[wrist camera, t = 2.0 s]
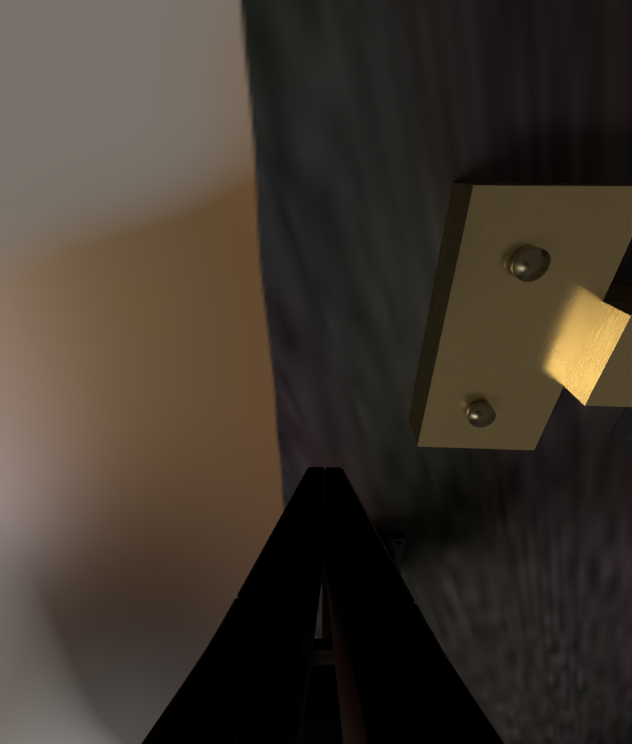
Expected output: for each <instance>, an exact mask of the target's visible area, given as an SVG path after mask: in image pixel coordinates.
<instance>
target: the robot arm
mask: <svg viewBox="0 0 632 744" xmlns="http://www.w3.org/2000/svg"><path fill="white" fill-rule="evenodd" d="M404 547H405V538H404V535H402V534H396V533H378V532H377V531H376V529H375V527H374V525H373V523H372V521H371V520H370V518H369V516H368V514H367V512H366V510H365V509H364V507H363V505H362V503H361V501H360V499H359V498H358V496H357V494H356V492H355V490H354V489H353V487H352V485H351V483H350V481H349V479H348V478H347V476H346V474H345V472H344V470H343V469H342V468H339V467H327V468H326V469H324V468H323V467H309V468H308V469H307V470H306V472H305V474H304V476H303V477H302V479H301V481H300V483H299V485H298V486H297V488H296V490H295V492H294V494H293V495H292V497H291V499H290V501H289V503H288V504H287V506H286V508H285V510H284V512H283V513H282V515H281V517H280V519H279V521H278V522H277V524H276V526H275V528H274V530H273V531H272V533H271V535H270V537H269V539H268V541H267V542H266V544H265V546H264V548H263V550H262V551H261V553H260V555H259V557H258V558H257V560H256V562H255V564H254V566H253V567H252V569H251V571H250V573H249V575H248V576H247V578H246V580H245V582H244V584H243V585H242V587H241V589H240V591H239V593H238V595H237V596H238V598H236V599H234V601H233V603H232V605H231V607H230V608H229V610H228V612H227V614H226V616H225V617H224V619H223V621H222V623H221V624H220V626H219V628H218V629H217V631H216V633H215V634H214V636H213V638H212V640H211V641H210V643H209V645H208V646H207V648H206V649H205V651H204V652H203V654H202V655H201V657H200V659H199V660H198V662H197V663H196V665H195V666H194V668H193V669H192V671H191V672H190V674H189V675H188V677H187V678H186V680H185V681H184V683H183V684H182V686H181V687H180V689H179V690H178V692H177V693H176V694H175V696H174V697H173V699H172V700H171V702H170V703H169V705H168V706H167V707H166V709H165V710H164V712H163V713H162V715H161V716H160V718H159V719H158V720H157V722H156V723H155V725H154V726H153V728H152V729H151V731H150V732H149V734H148V735H147V737H146V738H145V739H144V741H143V742H142V744H504V742H503V741H502V739H501V738H500V736H499V735H498V734H497V732H496V731H495V729H494V728H493V726H492V725H491V723H490V722H489V720H488V719H487V717H486V716H485V714H484V713H483V711H482V710H481V708H480V707H479V705H478V704H477V702H476V701H475V699H474V698H473V696H472V695H471V693H470V692H469V690H468V689H467V687H466V686H465V684H464V683H463V681H462V680H461V678H460V676H459V675H458V673H457V672H456V670H455V669H454V667H453V666H452V664H451V662H450V661H449V659H448V658H447V656H446V655H445V653H444V651H443V649H442V648H441V646H440V644H439V643H438V641H437V639H436V637H435V636H434V633H433V632H432V630H431V629H430V627H429V625H428V624H427V622H426V620H425V618H424V616H423V614H422V613H421V611H420V609H419V607H418V605H417V604H416V603H414V598H413V596H412V595H411V593H410V591H409V589H408V587H407V585H406V584H405V582H404V580H403V578H402V576H401V575H400V573H399V568H400V563H401V559H402V555H403V551H404ZM321 583H322V639H314V636H315V628H316V620H317V612H318V604H319V596H320V588H321Z"/></svg>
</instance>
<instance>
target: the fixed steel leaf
mask: <svg viewBox="0 0 632 744" xmlns="http://www.w3.org/2000/svg"><path fill="white" fill-rule="evenodd" d="M610 436H611V437H612V438H614V439H615V440H616V441H617V442H618V443H619V444H620V445H621V446H622V447H623V448H624V449H625V450H626V451H627V452H628V453H629V454H631V455H632V407H627V408H626V409H625V411H624V413H623V414H622V416H621V418H620V419H619V421H618V423H617V424H616V426H615V428H614V429H613V431H612V433H611V434H610Z"/></svg>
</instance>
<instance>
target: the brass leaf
mask: <svg viewBox="0 0 632 744" xmlns="http://www.w3.org/2000/svg"><path fill="white" fill-rule="evenodd" d="M631 239H632V185H622V184H605V183H452V187H451V192H450V198H449V203H448V208H447V214H446V219H445V225H444V230H443V235H442V241H441V246H440V252H439V257H438V262H437V268H436V273H435V278H434V284H433V289H432V295H431V300H430V305H429V311H428V316H427V322H426V327H425V332H424V338H423V343H422V349H421V354H420V359H419V365H418V370H417V376H416V381H415V386H414V392H413V397H412V402H411V408H410V413H409V420H410V424H411V427H412V430H413V434H414V437H415V440H416V443H417V446H419V447H449V448H480V449H511V450H535V447H536V445H537V443H538V441H539V439H540V437H541V434H542V432H543V430H544V428H545V426H546V424H547V421H548V419H549V417H550V415H551V413H552V410H553V408H554V406H555V404H556V402H557V400H558V397H559V395H560V393H561V391H562V389H563V387H565V388H567V389H568V390H569V391H570V392H571V393H572V394H573V395H574V396H575V397H576V398H577V399H578V400H579V401H580V402H581V403H582V404H583V405H585V406H615V407H632V284H611V282H612V280H613V278H614V276H615V273H616V271H617V269H618V267H619V265H620V262H621V260H622V258H623V256H624V254H625V252H626V249H627V247H628V245H629V243H630V241H631Z"/></svg>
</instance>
